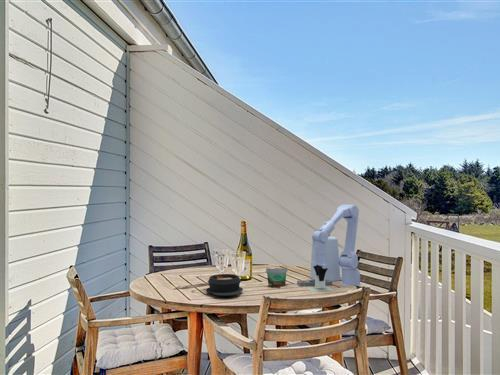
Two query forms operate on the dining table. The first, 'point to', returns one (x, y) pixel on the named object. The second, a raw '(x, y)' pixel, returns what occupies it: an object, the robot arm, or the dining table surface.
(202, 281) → the dining table surface
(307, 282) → the grey slotted plate
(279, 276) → the food container
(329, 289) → the rubber mat
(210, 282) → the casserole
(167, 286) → the dining table surface
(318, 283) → the white rectangular block
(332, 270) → the plastic bottle
